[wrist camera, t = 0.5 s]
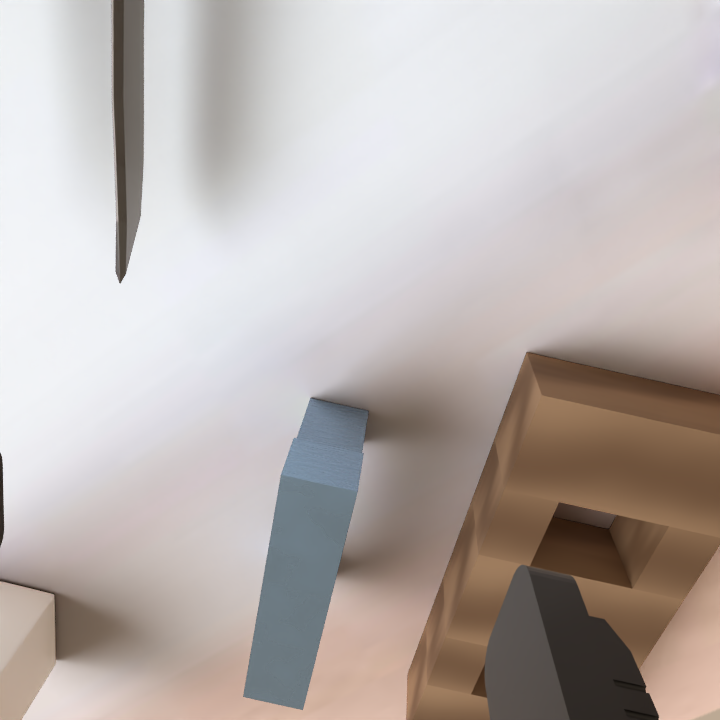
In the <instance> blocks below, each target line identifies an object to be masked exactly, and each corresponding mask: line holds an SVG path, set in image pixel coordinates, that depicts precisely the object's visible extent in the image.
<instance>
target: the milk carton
mask: <svg viewBox="0 0 720 720" xmlns="http://www.w3.org/2000/svg"><path fill="white" fill-rule="evenodd" d="M55 664H56V651H55V601H54V595H53V594H50V593H47V592H43V591H39V590H35V589H31V588H26V587H22V586H18V585H14V584H10V583H6V582H2V581H0V720H22V718H23V716H24V715H25V713H26V712H27V710H28V708H29V707H30V705H31V703H32V702H33V700H34V699H35V697H36V695H37V694H38V692H39V690H40V689H41V687H42V685H43V684H44V682H45V681H46V679H47V677H48V676H49V674H50V672H51V671H52V669H53V668H54V666H55Z"/></svg>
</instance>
